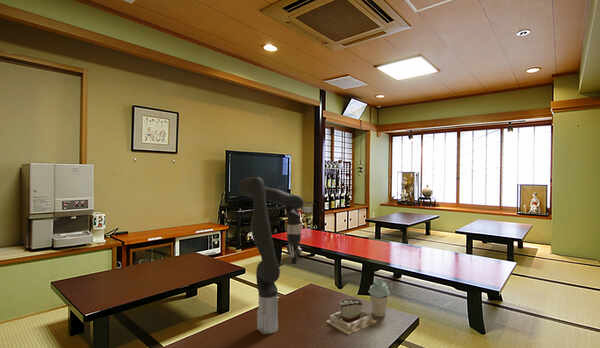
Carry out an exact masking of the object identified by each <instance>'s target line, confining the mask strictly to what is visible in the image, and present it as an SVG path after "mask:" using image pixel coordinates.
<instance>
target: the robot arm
mask: <svg viewBox="0 0 600 348" xmlns="http://www.w3.org/2000/svg"><path fill="white" fill-rule="evenodd" d="M238 191H239V192H240V194H241V195H243V196H245V197H248V198H249V197H250V198H251V197H252V202H253V213H252V216H251V220H250V232H251V235H252V236H251V237H252V239H253V242H254V245H255V246H256V248H257V250H258V252H259V256H260V258H261V261H260V262H259V263H258V264H257V266H256V269H255V270H256V271H255V273H256V274H255V275H256V276H255V277H256V288H257V291H258V309H257V311H256V323H257V324H256V325H257V326H256V328H257V330H258V332H260V333H261V334H262V335H267V334H268V335H270V334H273V333H276V332H277V331H278V330H279V321H278V320H279V319H278V318H279V317H278V315H279V313H278V312H279V311H278V309H279V308H278V306H279V305H278V300H279V299H278V294H279V293H278V291H279V290H278V287H277V285H276V282H277V281H278V279H279V277H280V274H281V270H280V269H281V268H280V264H279V261H278V259H277V255H276V254H277V253H276V250H275V245H274V240H273V234H272V228H271V223H270V219H269V212H268V206H267V201H269V202H272V203H275V204H278V205H281V206H284V209H285V212H286V216H287V227H286V241H287V242H288V244H287V245H285V248H286V250H287V254H288V256H290V257H291V258H290V259H291V260H290V262H291V265H297V258H298V257H300V255H301V253H303V248H301V247H300V246H301V245H300V242H301V240H302V228H301V214H300V213H298V212H297V211H296V210H299V209H301V208H303V205H304V199H303V198H302V197H301V195H298V194H292V193H288V192H286V191H283V190H281V189H278V188H273V187H267V186H265V182H264V180H263V179H262V178H261V177H259V176H252V177H251V176H250V177H245V178H242V179H241V180H240V181H239V184H238Z"/></svg>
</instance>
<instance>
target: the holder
mask: <svg viewBox="0 0 600 348" xmlns="http://www.w3.org/2000/svg"><path fill="white" fill-rule="evenodd" d="M329 317H330V318H329V319H327V320H326V321H325V322H326V323H327V324H329V325H331V326H333V327H335V328H336V329H337V330H339V331H341V332H343V333H345V334H347V335H352V334H354V333H356V332H359V331H360V330H362V329H366V328H367V327H369V326H371V325H373V324H376V323H377V322H378V321H377V320H375V319H373V314H371V313H369V312H367V311H365V310H362V309H361V317H360V319H359V320H356V321H354V322H352V323H346V322H344V321H343V320H342V316H341V310H340V311H337V312H335V313H332V314H330V315H329Z"/></svg>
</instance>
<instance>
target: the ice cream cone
mask: <svg viewBox="0 0 600 348" xmlns="http://www.w3.org/2000/svg"><path fill="white" fill-rule="evenodd" d="M372 283H373V284H372V285H370V287H369V290H368V293H369V298H370V304H371V308H372V309H371V311H372V315H373V316H376V317H384V316H385V315H386V311H387V304H388V296H390V294H391V293H390V290H389V289H388V288H389V287H388V285H387V283H386V282H385V281H383V278H381V277H379V279H378V278H377V277H376V278H375V280H373V282H372Z"/></svg>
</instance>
